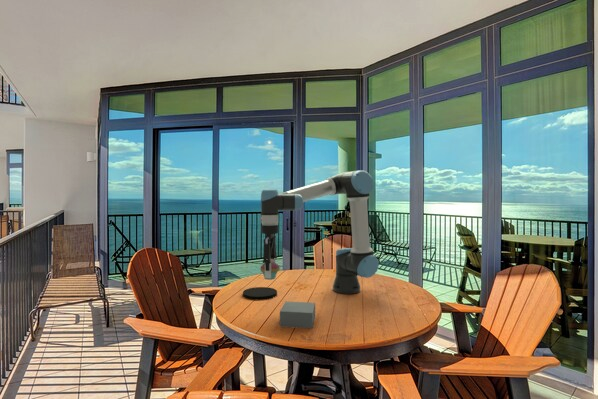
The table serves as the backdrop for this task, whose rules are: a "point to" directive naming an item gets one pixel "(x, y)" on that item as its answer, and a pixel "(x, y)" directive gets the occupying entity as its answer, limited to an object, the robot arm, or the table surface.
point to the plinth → (297, 314)
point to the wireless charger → (259, 293)
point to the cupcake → (273, 270)
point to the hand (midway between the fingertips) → (270, 275)
